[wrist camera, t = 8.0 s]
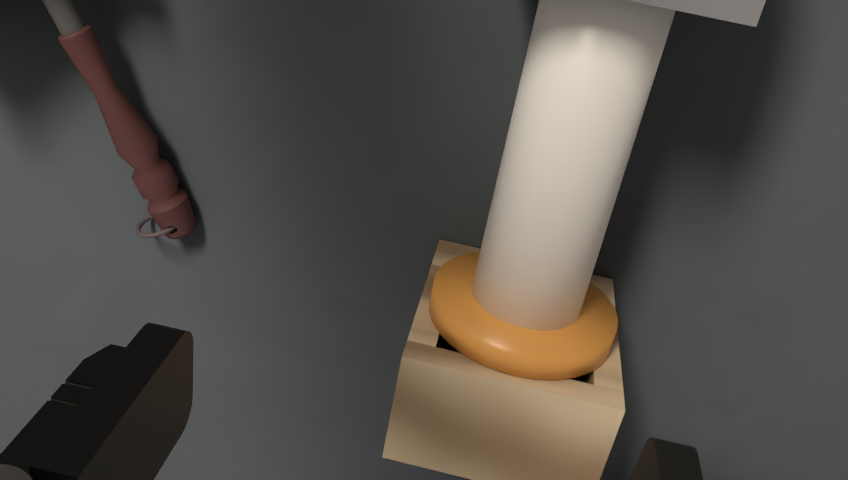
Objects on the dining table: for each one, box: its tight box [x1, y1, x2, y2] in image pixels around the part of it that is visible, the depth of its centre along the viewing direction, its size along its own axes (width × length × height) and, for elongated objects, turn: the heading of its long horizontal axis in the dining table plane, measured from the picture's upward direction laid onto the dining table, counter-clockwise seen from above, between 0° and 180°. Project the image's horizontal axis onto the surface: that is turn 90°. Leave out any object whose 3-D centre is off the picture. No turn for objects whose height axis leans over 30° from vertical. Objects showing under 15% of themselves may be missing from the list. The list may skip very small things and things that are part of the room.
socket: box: [382, 239, 625, 480], centre depth 31 cm, size 4×8×9 cm, turn 80°
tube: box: [429, 0, 676, 380], centre depth 26 cm, size 18×7×7 cm, turn 170°
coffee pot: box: [42, 0, 196, 239], centre depth 31 cm, size 8×18×8 cm
